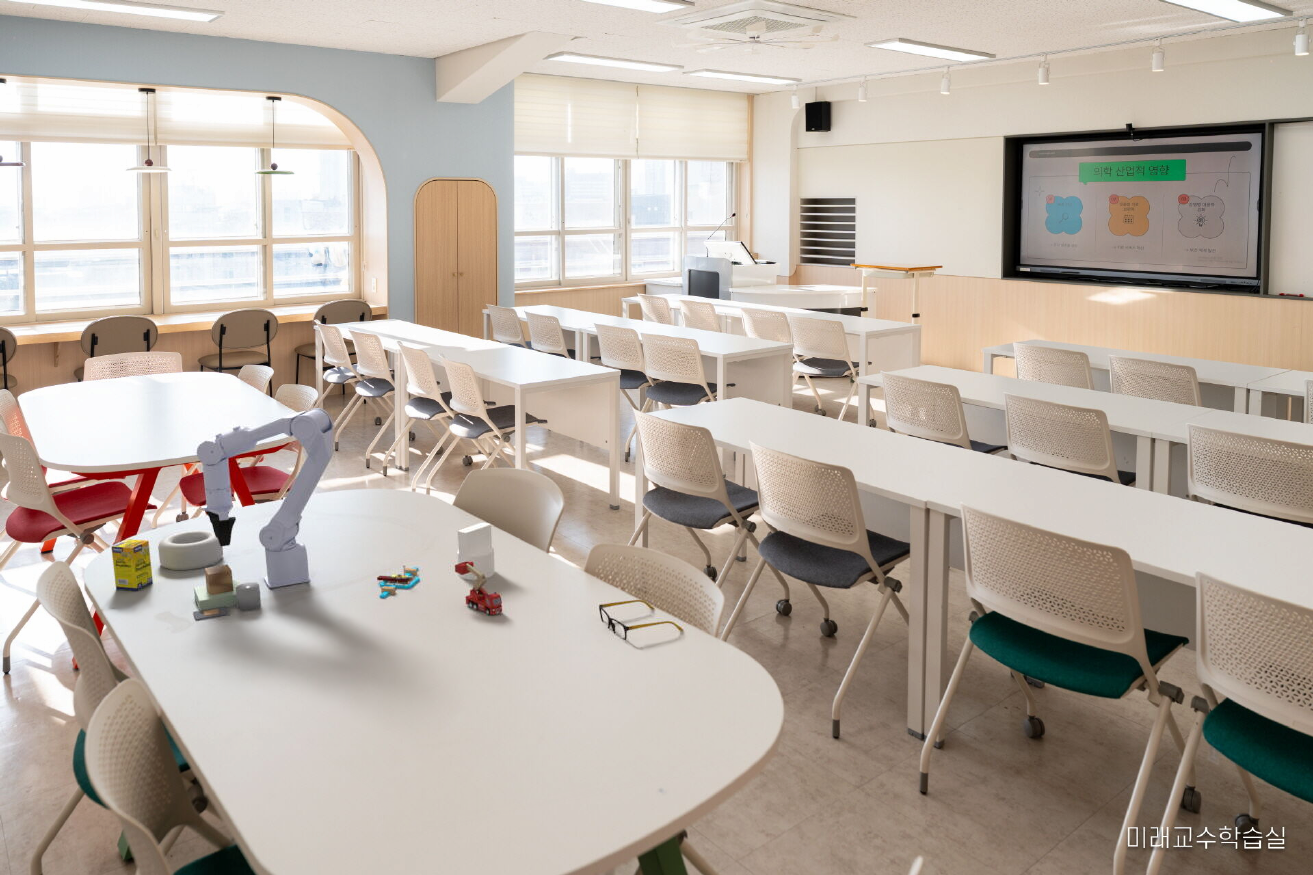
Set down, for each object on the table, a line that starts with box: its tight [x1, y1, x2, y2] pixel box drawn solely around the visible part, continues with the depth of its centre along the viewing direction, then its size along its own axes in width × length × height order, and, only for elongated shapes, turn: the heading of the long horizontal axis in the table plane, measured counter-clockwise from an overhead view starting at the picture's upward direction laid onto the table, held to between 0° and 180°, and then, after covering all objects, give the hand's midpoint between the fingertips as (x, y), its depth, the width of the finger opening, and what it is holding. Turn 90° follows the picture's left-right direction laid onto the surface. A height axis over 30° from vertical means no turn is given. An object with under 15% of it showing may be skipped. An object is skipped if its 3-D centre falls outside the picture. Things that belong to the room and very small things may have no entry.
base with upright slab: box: [456, 521, 496, 581], centre depth 257 cm, size 9×9×12 cm
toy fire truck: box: [454, 561, 503, 616], centre depth 236 cm, size 3×14×10 cm, turn 47°
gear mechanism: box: [376, 563, 421, 599], centre depth 252 cm, size 20×5×9 cm
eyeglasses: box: [598, 599, 684, 641], centre depth 226 cm, size 14×14×4 cm
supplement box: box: [110, 538, 154, 592], centre depth 249 cm, size 6×6×11 cm
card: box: [192, 606, 230, 621], centre depth 233 cm, size 7×5×1 cm
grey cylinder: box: [236, 582, 262, 612], centre depth 237 cm, size 5×5×5 cm
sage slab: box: [193, 579, 242, 611], centre depth 241 cm, size 10×10×3 cm
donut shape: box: [157, 529, 224, 571], centre depth 267 cm, size 15×15×7 cm
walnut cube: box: [204, 563, 234, 595], centre depth 241 cm, size 5×5×5 cm
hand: (222, 541), depth 252 cm, fingers open, 7 cm apart
